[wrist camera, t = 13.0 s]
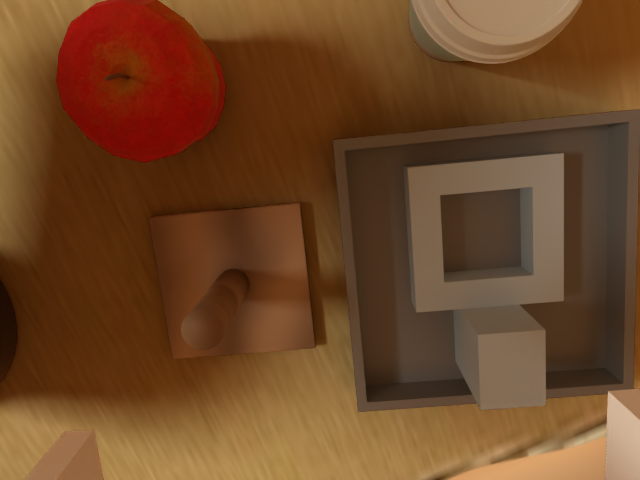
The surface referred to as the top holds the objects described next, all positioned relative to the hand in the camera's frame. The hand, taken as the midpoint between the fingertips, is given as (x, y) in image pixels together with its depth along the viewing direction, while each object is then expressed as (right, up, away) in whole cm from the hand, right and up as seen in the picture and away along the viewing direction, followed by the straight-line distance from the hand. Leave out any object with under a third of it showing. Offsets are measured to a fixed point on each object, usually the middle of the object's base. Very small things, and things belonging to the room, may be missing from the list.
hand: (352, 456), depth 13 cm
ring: (+11, +4, +24) cm, 27 cm away
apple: (-11, +16, +23) cm, 30 cm away
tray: (+11, +4, +25) cm, 27 cm away
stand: (-7, +2, +26) cm, 27 cm away
